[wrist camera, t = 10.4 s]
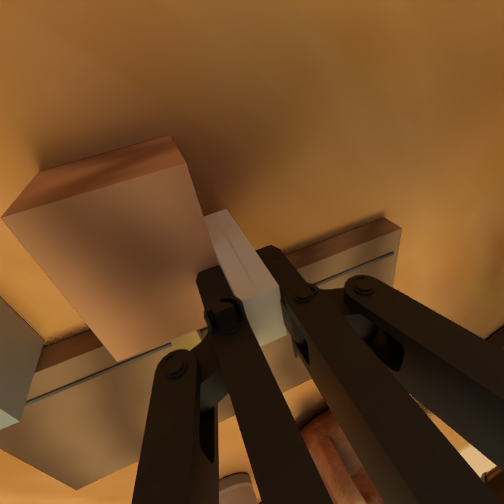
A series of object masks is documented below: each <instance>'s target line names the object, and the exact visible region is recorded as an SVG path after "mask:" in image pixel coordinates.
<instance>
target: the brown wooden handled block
mask: <svg viewBox="0 0 504 504" xmlns="http://www.w3.org/2000/svg"><path fill="white" fill-rule="evenodd" d="M1 219H2V221H3V222H4V223H5V224H6V226H7V227H8V228H9V229H10V230H11V232H12V233H13V234H14V235H15V237H16V238H17V239H18V240H19V242H20V243H21V244H22V245H23V246H24V248H25V249H26V250H27V251H28V253H29V254H30V255H31V256H32V258H33V259H34V260H35V261H36V262H37V264H38V265H39V266H40V267H41V269H42V270H43V271H44V272H45V274H46V275H47V276H48V277H49V278H50V280H51V281H52V282H53V283H54V285H55V286H56V287H57V288H58V290H59V291H60V292H61V293H62V294H63V296H64V297H65V298H66V299H67V301H68V302H69V303H70V304H71V306H72V307H73V308H74V309H75V310H76V312H77V313H78V314H79V315H80V317H81V318H82V319H83V320H84V322H85V323H86V324H87V325H88V326H89V328H90V329H91V330H92V331H93V333H94V334H95V335H96V336H97V338H98V339H99V340H100V341H101V342H102V344H103V345H104V346H105V347H106V349H107V350H108V351H109V352H110V353H111V355H112V356H113V357H114V358H115V360H116V361H117V362H119V361H121V360H124V359H126V358H129V357H131V356H134V355H136V354H139V353H141V352H143V351H146V350H148V349H151V348H153V347H156V346H158V345H161V344H163V343H166V342H168V341H171V343H172V345H173V347H174V348H175V350H177V349H186V350H189V351H190V350H191V349H193V348H194V347H195V346H197V345H198V344H199V343H200V342H201V341H202V340H203V337H202V335H201V333H200V331H199V329H200V328H203V327H205V326H207V324H206V321H205V319H204V306H203V303H202V300H201V296H200V293H199V290H198V287H197V284H196V278H197V275H198V272H201V271H203V270H206V269H209V268H212V267H214V266H217V265H219V263H218V260H217V257H216V254H215V251H214V248H213V244H212V241H211V238H210V235H209V232H208V229H207V226H206V222H205V219H204V216H203V213H202V210H201V207H200V204H199V201H198V198H197V195H196V191H195V188H194V185H193V182H192V179H191V176H190V173H189V170H188V167H187V164H186V162H185V160H184V158H183V156H182V155H181V153H180V151H179V150H178V148H177V146H176V144H175V143H174V141H173V139H172V138H171V136H170V135H168V136H165V137H161V138H158V139H154V140H150V141H147V142H143V143H139V144H136V145H132V146H129V147H125V148H121V149H118V150H114V151H110V152H107V153H103V154H100V155H96V156H92V157H89V158H85V159H82V160H78V161H74V162H71V163H67V164H63V165H60V166H56V167H53V168H49V169H45V170H42V171H39V172H38V174H37V175H36V176H35V177H34V178H33V180H32V181H31V182H30V183H29V184H28V186H27V187H26V188H25V189H24V190H23V192H22V193H21V194H20V195H19V196H18V198H17V199H16V200H15V201H14V202H13V203H12V205H11V206H10V207H9V208H8V209H7V211H6V212H5V213H4V214H3V215H2V217H1Z"/></svg>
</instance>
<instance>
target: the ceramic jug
mask: <svg viewBox="0 0 504 504" xmlns="http://www.w3.org/2000/svg"><path fill="white" fill-rule="evenodd" d="M300 433H301V435H302V437H303V439H304V441H305V444H306V446H307V448H308V450H309V452H310V454H311V456H312V459H313V461H314V463H315V465H316V467H317V469H318V471H319V474H320V476H321V478H322V480H323V482H324V484H325V486H326V488H327V491H328V493H329V495H330V497H331V499H332V501H333V503H334V504H385V503H384V501H383V500H382V498H381V496H380V495H379V493H378V491H377V489H376V488H375V486H374V484H373V483H372V481H371V479H370V477H369V476H368V474H367V472H366V471H365V469H364V467H363V465H362V464H361V462H360V460H359V458H358V457H357V455H356V453H355V452H354V450H353V448H352V446H351V445H350V443H349V441H348V440H347V438H346V436H345V434H344V433H343V431H342V429H341V427H340V426H339V424H338V422H337V421H336V419H335V417H334V415H333V414H332V412H331V410H330V409H329V410H327V411H325V412H324V413H322V414H320V415H319V416H317V417H316V418H315V419H313V420H312V421H311V422H310V423H309V424H307V425H306V426H305V427H304V428H303V429H302V430H301V431H300Z"/></svg>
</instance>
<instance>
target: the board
mask: <svg viewBox="0 0 504 504" xmlns="http://www.w3.org/2000/svg"><path fill="white" fill-rule="evenodd" d="M401 230H402V228H401V227H399V226H397V225H396V224H394V223H392V222H391V221H389V220H387V219H385V218H382V219H379V220H377V221H374V222H371V223H369V224H366V225H364V226H361V227H358V228H356V229H353V230H351V231H348V232H345V233H343V234H340V235H337V236H335V237H332V238H330V239H327V240H324V241H322V242H319V243H316V244H314V245H311V246H309V247H306V248H303V249H301V250H298V251H296V252H293V253H290V254H288V255H285V257H287V259H288V260H289V261H290V262H291V264H292V265H293V266H294V267H295V268H296V270H297V271H298V272H299V273H300V275H301V276H302V277H303V278H304V279H305V281H306V282H307V283H311V284H314V285H316V286H317V287H318V288H320V289H335V288H343V287H344V285H345V282H346V281H347V280H348V279H349V278H350V277H353V276H355V275H369V276H372V277H374V278H377V279H378V280H380V281H382V282H384V283H385V284H387V285H389V286H391V287H393V282H394V275H395V269H396V262H397V256H398V249H399V243H400V236H401ZM199 331H200V333H201V335H202V337H203V339H204V337H205V336H206V334H207V332H208V326H205V327H203V328H200V329H199ZM286 332H287V335H286V336H284V337H281V338H279V339H277V340H274V341H272V342H270V343H268V344H265V345H263V346H261V349H262V351H263V354H264V356H265V358H266V360H267V362H268V364H269V366H270V369H271V371H272V373H273V375H274V377H275V379H276V381H277V384H278V386H279V388H280V390H281V392H282V393H283V392H285V391H287V390H289V389H291V388H293V387H295V386H297V385H300V384H302V383H304V382H306V381H308V380H310V379H312V378H311V376H310V374H309V372H308V371H307V369H306V367H305V365H304V364H303V362H302V360H301V359H300V357H299V355H298V353H297V355H298V357H296V358H295V356H294V352H293V346H292V339H291V335H290V334H289V332H288V330H287V328H286ZM172 351H175V348H174V347H173V345H172V343H171V341H168V342H166V343H163V344H161V345H158V346H156V347H153V348H151V349H148V350H146V351H143V352H141V353H139V354H136V355H134V356H131V357H129V358H126V359H124V360H121V361H119V362H117V361H116V360H115V358H114V357H113V356H112V355H111V353H110V352H109V351H108V350H107V349H106V347H105V346H104V345H103V344H102V342H101V341H100V340H99V339H98V338H97V336H96V335H95V334H94V333H93V331H92V330H89V331H86V332H84V333H81V334H78V335H76V336H73V337H70V338H68V339H65V340H63V341H60V342H57V343H55V344H52V345H50V346H47V347H44V348H42V350H41V353H40V357H39V360H38V363H37V366H36V370H35V373H34V376H33V380H32V383H31V386H30V389H29V393H28V396H27V399H26V402H25V406H24V409H23V412H22V416H21V419H20V422H17V423H15V424H13V425H10V426H8V427H5V428H3V429H1V430H0V449H2V450H3V451H5V452H7V453H9V454H11V455H13V456H14V457H16V458H18V459H20V460H22V461H24V462H25V463H27V464H29V465H31V466H33V467H35V468H36V469H38V470H40V471H42V472H44V473H46V474H48V475H49V476H51V477H53V478H55V479H57V480H59V481H60V482H62V483H64V484H66V485H68V486H70V487H71V488H73V489H75V490H78V489H80V488H82V487H84V486H86V485H88V484H91V483H93V482H95V481H97V480H99V479H101V478H103V477H105V476H107V475H110V474H112V473H114V472H116V471H118V470H120V469H122V468H124V467H126V466H129V465H131V464H133V463H135V462H137V461H139V459H140V453H141V447H142V442H143V436H144V430H145V425H146V419H147V413H148V408H149V402H150V397H151V391H152V385H153V380H154V374H155V370H156V368H157V365H158V363H159V362H160V361H161V359H162V358H163V357H164V356H166V355H167V354H168V353H170V352H172ZM234 415H235V412H234V408H233V405H232V402H231V399H230V395H229V394H228V395H226V396H225V397H224V398H223V399H222V400H221V401H220V402H219V403H218V423H219V422H221V421H224V420H226V419H228V418H230V417H232V416H234Z"/></svg>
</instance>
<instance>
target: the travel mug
mask: <svg viewBox="0 0 504 504" xmlns="http://www.w3.org/2000/svg"><path fill="white" fill-rule="evenodd" d="M219 504H258V502H257V499H256V496H255V492H254V490H253V486H252V482H251V479H250V476H249V475H247V474H244V473H238V474H233V475H230V476H228V477H225V478H223V479H221V480H219Z"/></svg>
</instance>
